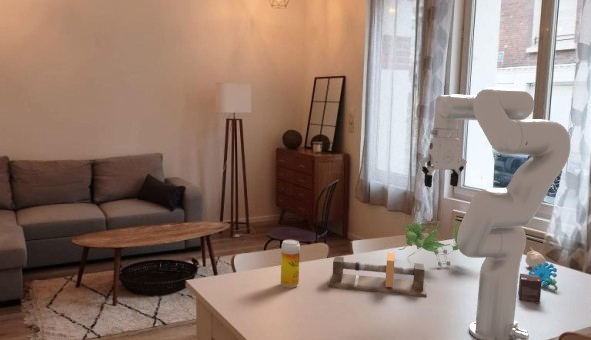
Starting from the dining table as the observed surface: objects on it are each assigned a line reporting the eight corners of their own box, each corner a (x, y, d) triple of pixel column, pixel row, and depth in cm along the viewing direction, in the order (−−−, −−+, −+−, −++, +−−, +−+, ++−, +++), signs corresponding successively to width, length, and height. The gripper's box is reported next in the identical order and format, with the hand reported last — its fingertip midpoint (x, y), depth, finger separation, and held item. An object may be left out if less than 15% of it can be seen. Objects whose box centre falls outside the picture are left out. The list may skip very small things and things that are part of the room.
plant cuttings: (391, 279, 196) (414, 260, 177) (382, 238, 204) (403, 216, 185) (470, 274, 204) (500, 256, 185) (459, 235, 212) (486, 214, 193)
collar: (393, 278, 173) (394, 253, 172) (392, 287, 165) (394, 261, 163) (385, 277, 174) (387, 252, 173) (385, 286, 165) (386, 260, 164)
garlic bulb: (540, 266, 196) (542, 246, 195) (546, 271, 190) (549, 251, 189) (523, 265, 197) (524, 245, 196) (528, 270, 191) (530, 250, 190)
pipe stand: (424, 283, 173) (426, 261, 172) (426, 296, 161) (428, 273, 160) (332, 275, 179) (333, 253, 178) (328, 286, 167) (329, 263, 166)
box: (537, 297, 164) (540, 275, 163) (540, 304, 159) (542, 281, 158) (517, 294, 166) (519, 273, 165) (519, 300, 161) (521, 278, 160)
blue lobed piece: (521, 275, 180) (542, 256, 180) (529, 285, 182) (550, 267, 182) (541, 290, 170) (563, 271, 169) (549, 301, 172) (571, 281, 171)
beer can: (296, 289, 164) (298, 245, 162) (278, 287, 166) (279, 243, 164) (300, 283, 170) (301, 240, 168) (282, 281, 171) (284, 238, 169)
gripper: (428, 134, 155) (423, 189, 158) (475, 135, 160) (470, 187, 163) (415, 132, 162) (411, 184, 165) (460, 133, 167) (456, 183, 170)
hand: (440, 186), depth 164 cm, fingers open, 9 cm apart
